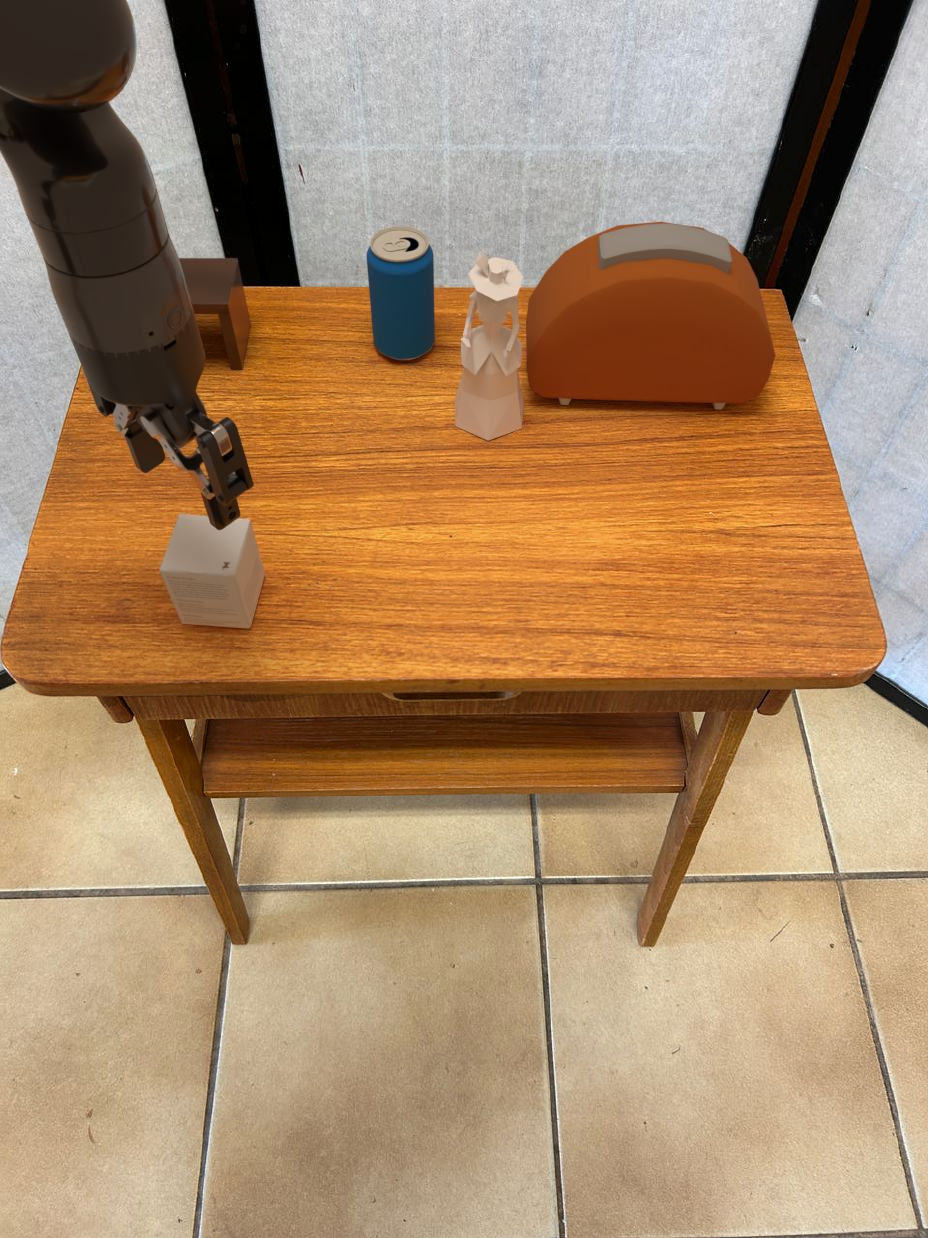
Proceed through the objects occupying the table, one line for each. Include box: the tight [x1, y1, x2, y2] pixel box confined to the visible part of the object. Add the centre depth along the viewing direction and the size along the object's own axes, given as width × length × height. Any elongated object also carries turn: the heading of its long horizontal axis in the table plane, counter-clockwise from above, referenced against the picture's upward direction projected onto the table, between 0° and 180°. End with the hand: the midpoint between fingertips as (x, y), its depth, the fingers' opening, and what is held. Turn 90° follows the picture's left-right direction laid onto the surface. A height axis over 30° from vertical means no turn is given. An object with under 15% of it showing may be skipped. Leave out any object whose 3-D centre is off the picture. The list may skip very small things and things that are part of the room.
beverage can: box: [366, 225, 436, 361], centre depth 96 cm, size 6×6×12 cm
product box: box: [158, 513, 266, 629], centre depth 78 cm, size 6×6×7 cm
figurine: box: [454, 251, 525, 442], centre depth 87 cm, size 7×8×18 cm
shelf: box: [179, 257, 252, 371], centre depth 97 cm, size 8×11×8 cm
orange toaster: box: [525, 221, 776, 410], centre depth 91 cm, size 23×9×17 cm, turn 88°
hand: (188, 493), depth 71 cm, fingers open, 8 cm apart
